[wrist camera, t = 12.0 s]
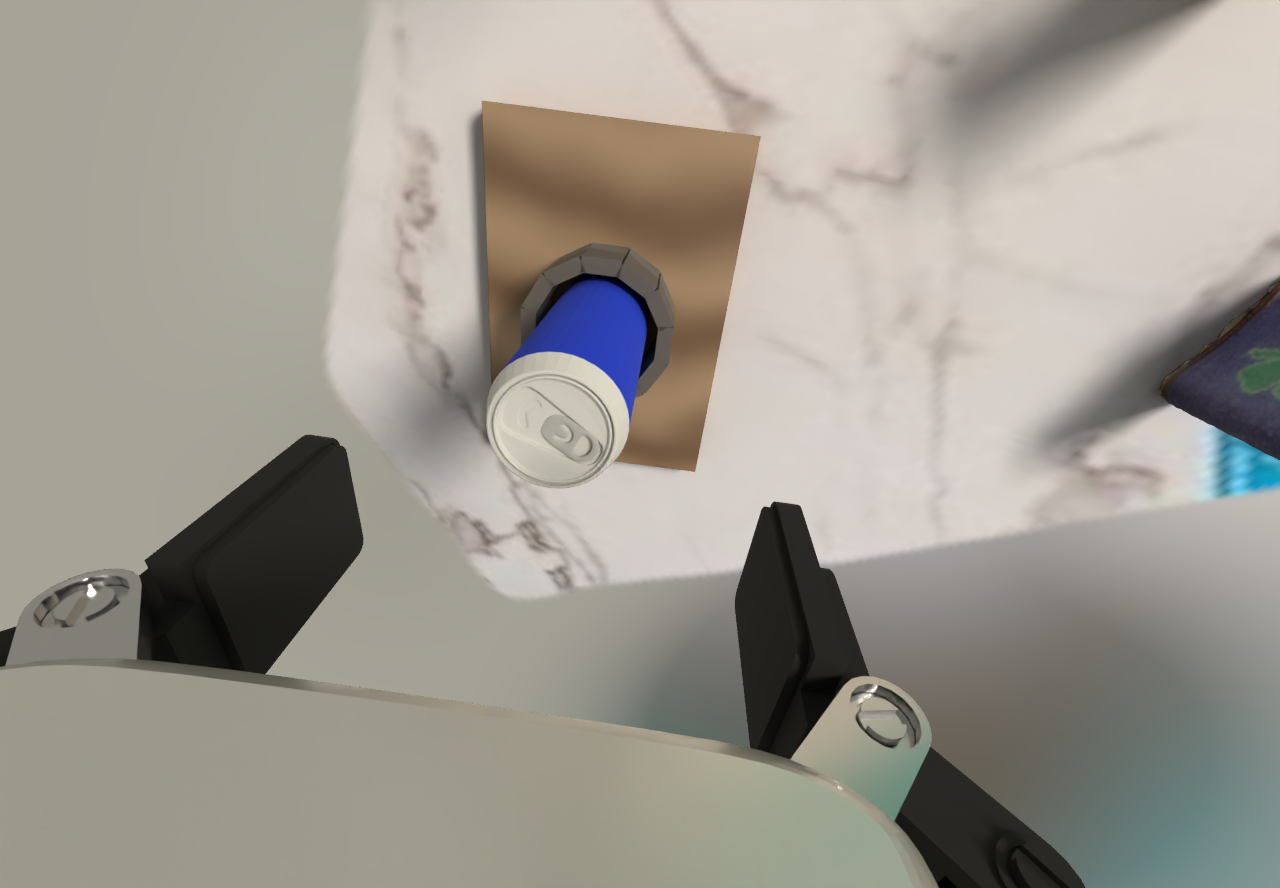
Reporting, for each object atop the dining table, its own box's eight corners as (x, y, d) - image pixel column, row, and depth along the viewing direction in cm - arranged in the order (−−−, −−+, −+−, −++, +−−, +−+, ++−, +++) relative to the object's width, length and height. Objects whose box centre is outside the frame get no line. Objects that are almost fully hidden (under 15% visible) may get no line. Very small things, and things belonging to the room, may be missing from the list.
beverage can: (547, 323, 31) (453, 447, 18) (592, 248, 29) (519, 330, 16) (619, 370, 33) (577, 517, 20) (667, 302, 30) (656, 418, 17)
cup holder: (491, 102, 27) (451, 93, 23) (756, 137, 27) (772, 134, 22) (500, 434, 37) (473, 476, 32) (694, 460, 37) (696, 506, 32)
